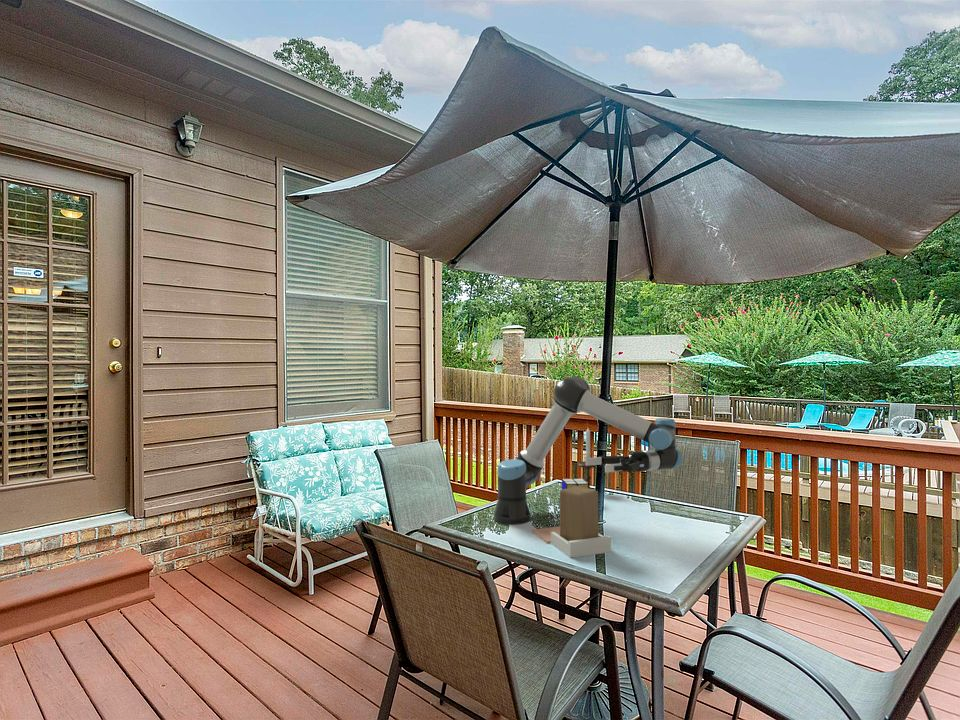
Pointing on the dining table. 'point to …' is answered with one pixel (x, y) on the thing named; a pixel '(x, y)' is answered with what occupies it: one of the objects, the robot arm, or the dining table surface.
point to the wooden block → (578, 513)
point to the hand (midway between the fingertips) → (595, 465)
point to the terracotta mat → (546, 533)
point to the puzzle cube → (573, 483)
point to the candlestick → (583, 463)
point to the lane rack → (582, 545)
